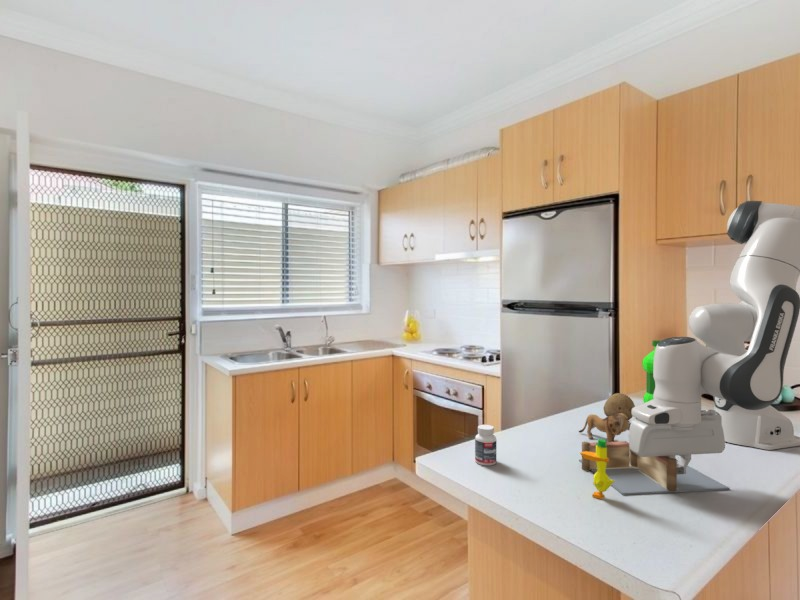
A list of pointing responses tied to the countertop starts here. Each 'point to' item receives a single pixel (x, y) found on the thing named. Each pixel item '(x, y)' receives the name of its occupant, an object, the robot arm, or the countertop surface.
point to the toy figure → (599, 468)
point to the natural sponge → (619, 405)
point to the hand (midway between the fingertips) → (676, 473)
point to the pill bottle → (485, 445)
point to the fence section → (611, 455)
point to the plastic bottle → (649, 373)
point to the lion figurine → (607, 425)
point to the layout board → (641, 483)
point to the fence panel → (660, 470)
